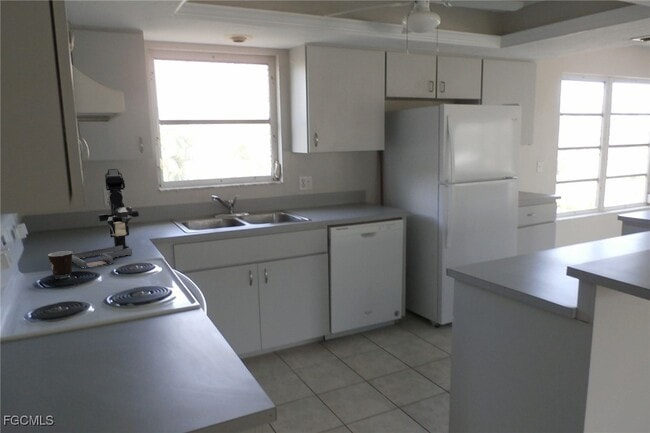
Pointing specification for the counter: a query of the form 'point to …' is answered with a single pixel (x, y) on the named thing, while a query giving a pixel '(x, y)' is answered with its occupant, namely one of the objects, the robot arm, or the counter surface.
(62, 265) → the coffee mug
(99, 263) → the pad
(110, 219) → the robot arm
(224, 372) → the counter surface
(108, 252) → the channel
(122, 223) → the maple block
